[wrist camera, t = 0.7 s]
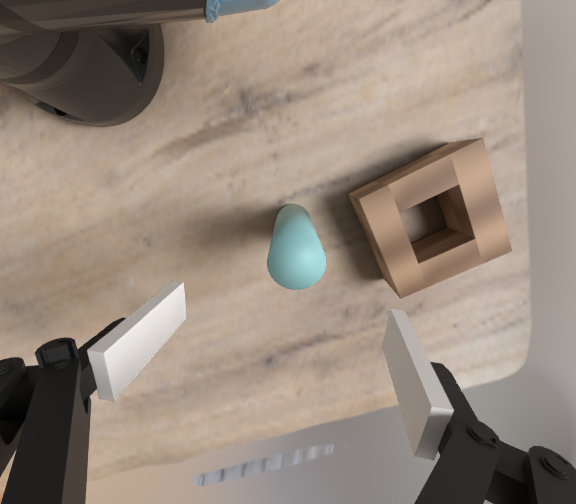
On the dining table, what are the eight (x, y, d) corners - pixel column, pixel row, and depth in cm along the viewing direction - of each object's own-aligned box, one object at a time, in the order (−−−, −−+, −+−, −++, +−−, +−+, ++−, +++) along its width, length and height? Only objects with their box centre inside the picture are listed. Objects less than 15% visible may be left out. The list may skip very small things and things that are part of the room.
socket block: (347, 193, 30) (358, 199, 25) (450, 142, 28) (483, 137, 24) (384, 279, 34) (400, 298, 29) (478, 238, 32) (512, 251, 27)
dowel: (270, 213, 31) (256, 250, 18) (300, 198, 30) (310, 224, 17) (285, 243, 32) (283, 298, 19) (315, 228, 32) (335, 275, 18)
